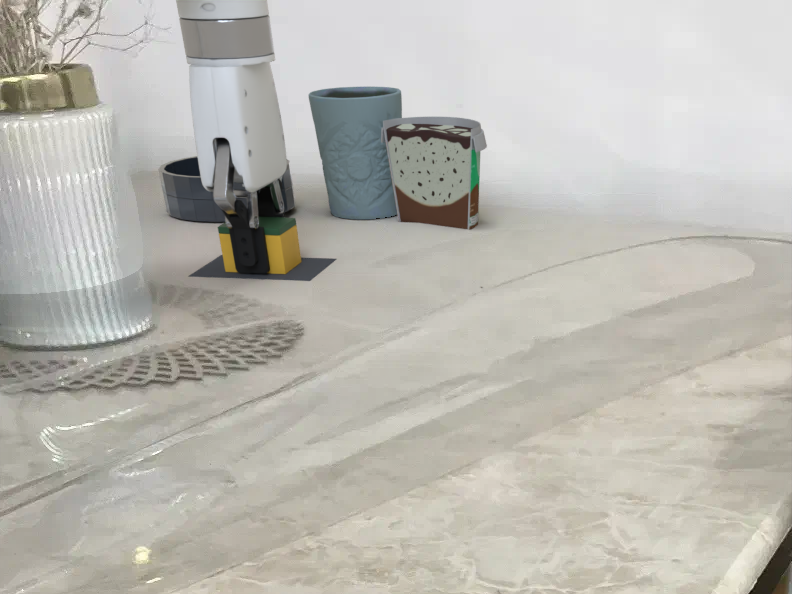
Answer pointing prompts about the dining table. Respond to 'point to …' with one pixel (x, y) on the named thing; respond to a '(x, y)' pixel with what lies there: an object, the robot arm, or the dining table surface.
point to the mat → (299, 273)
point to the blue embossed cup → (356, 148)
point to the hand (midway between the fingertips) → (263, 263)
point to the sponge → (269, 244)
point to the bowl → (203, 192)
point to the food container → (435, 169)
